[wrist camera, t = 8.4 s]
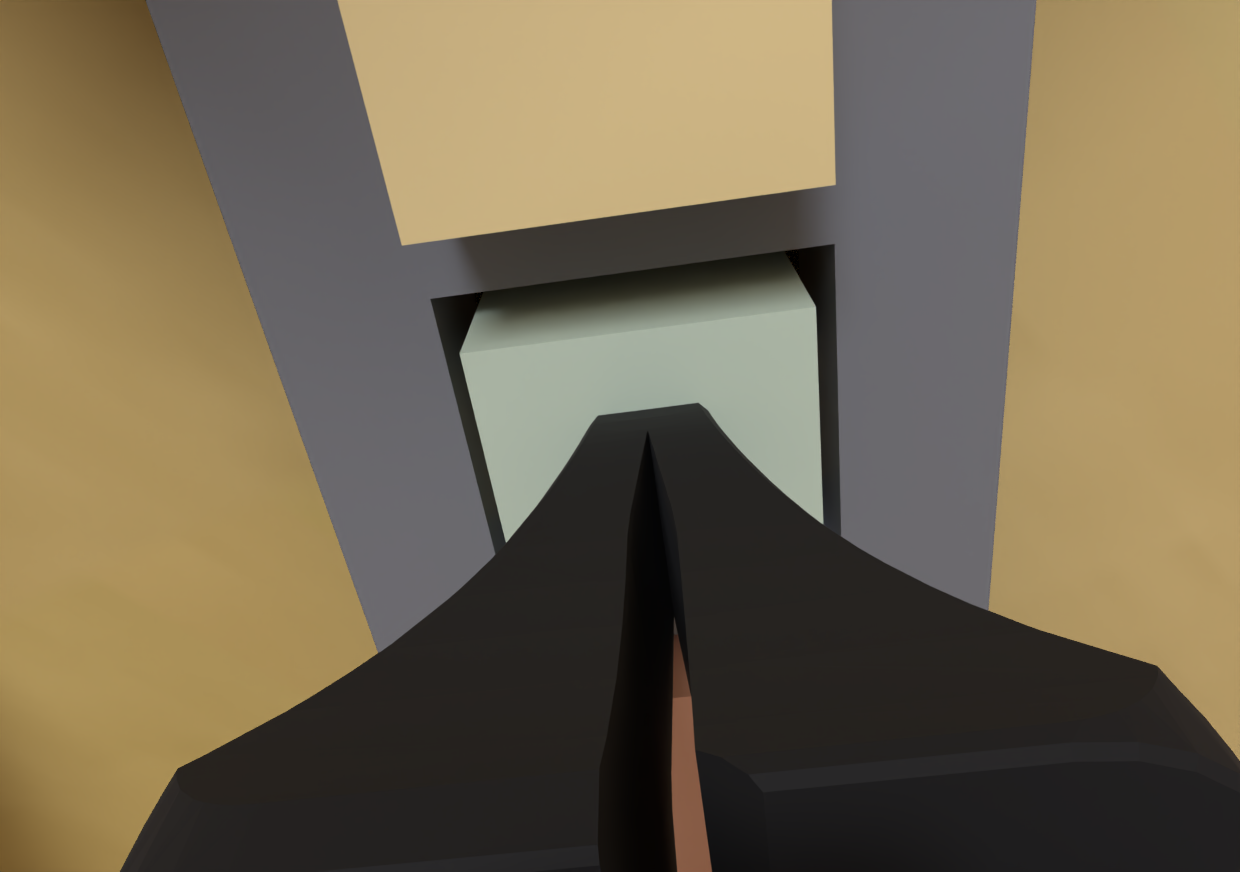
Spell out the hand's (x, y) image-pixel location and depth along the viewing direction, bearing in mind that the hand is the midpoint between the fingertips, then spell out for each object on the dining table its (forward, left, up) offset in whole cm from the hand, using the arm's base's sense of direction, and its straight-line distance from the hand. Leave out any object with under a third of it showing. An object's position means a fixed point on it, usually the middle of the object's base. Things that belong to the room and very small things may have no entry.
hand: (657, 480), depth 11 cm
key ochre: (0, +6, -2) cm, 6 cm away
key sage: (0, 0, -3) cm, 3 cm away
